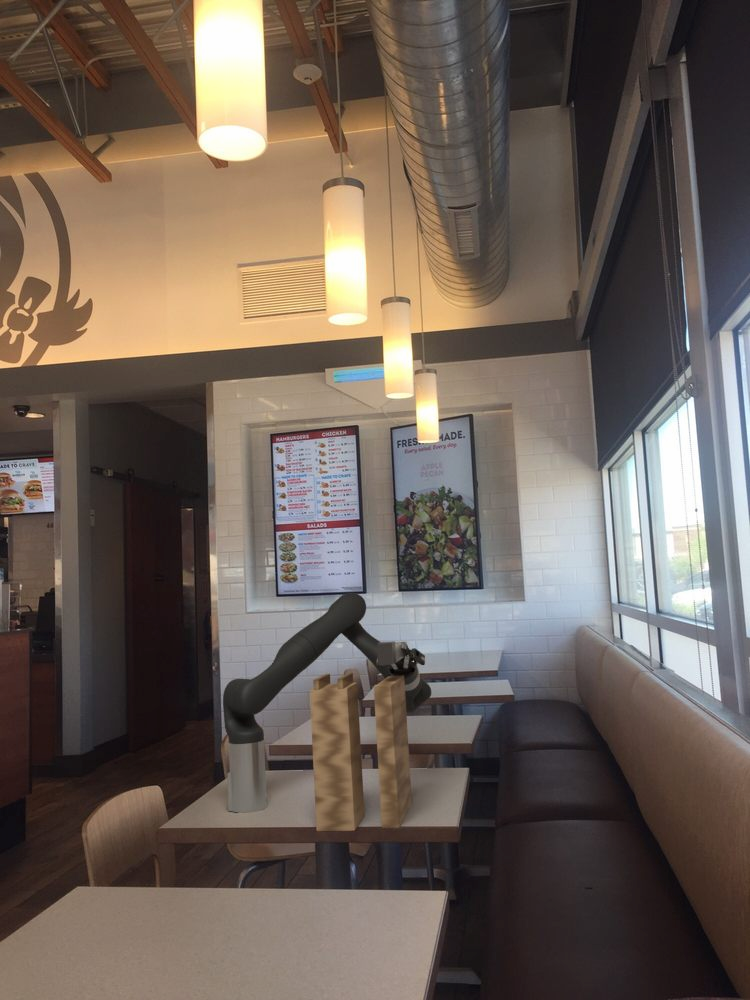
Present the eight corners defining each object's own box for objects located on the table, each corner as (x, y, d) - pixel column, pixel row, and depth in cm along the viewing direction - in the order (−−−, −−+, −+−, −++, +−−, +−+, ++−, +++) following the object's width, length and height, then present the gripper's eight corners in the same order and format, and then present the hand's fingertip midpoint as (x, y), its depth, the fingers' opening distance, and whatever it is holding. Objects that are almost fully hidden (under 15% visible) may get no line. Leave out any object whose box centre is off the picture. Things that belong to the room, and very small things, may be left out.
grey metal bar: (393, 664, 201) (391, 642, 202) (378, 665, 202) (377, 643, 203) (407, 654, 226) (406, 635, 226) (394, 655, 227) (393, 636, 227)
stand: (316, 830, 192) (309, 679, 196) (339, 803, 215) (332, 669, 219) (397, 830, 189) (388, 676, 192) (411, 802, 212) (403, 666, 216)
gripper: (380, 661, 234) (368, 634, 221) (430, 659, 232) (421, 631, 218) (379, 686, 230) (367, 660, 216) (430, 684, 228) (421, 657, 214)
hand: (395, 646), depth 217 cm, fingers closed on grey metal bar, 3 cm apart
